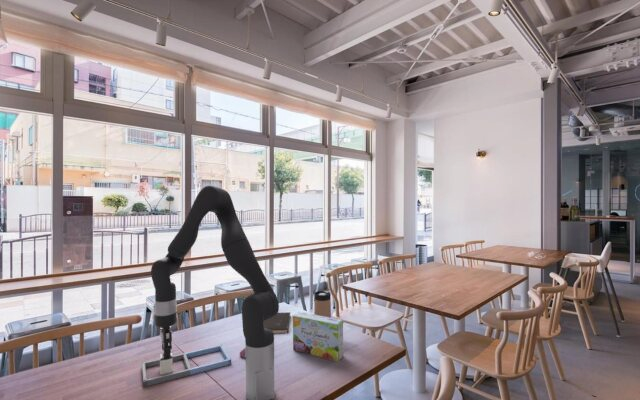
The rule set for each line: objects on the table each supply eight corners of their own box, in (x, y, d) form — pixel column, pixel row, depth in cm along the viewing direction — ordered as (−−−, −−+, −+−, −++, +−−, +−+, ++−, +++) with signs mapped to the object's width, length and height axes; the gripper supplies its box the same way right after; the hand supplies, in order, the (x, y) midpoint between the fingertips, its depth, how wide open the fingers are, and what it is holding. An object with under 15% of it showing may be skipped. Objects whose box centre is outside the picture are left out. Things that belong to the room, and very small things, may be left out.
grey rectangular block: (172, 372, 124) (172, 355, 123) (160, 375, 122) (160, 358, 122) (171, 367, 127) (171, 351, 127) (159, 370, 125) (159, 354, 125)
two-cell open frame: (231, 364, 129) (231, 359, 129) (143, 386, 114) (143, 381, 114) (221, 348, 142) (221, 344, 142) (142, 367, 127) (141, 362, 127)
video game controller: (247, 361, 134) (254, 347, 133) (237, 355, 134) (245, 341, 134) (256, 350, 143) (263, 336, 143) (247, 345, 144) (254, 331, 143)
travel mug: (316, 341, 149) (316, 296, 148) (312, 334, 156) (312, 291, 156) (333, 338, 151) (332, 294, 150) (328, 332, 158) (327, 290, 158)
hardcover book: (290, 316, 181) (290, 312, 181) (287, 334, 158) (287, 329, 158) (260, 317, 180) (260, 312, 180) (253, 334, 157) (253, 330, 157)
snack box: (292, 351, 140) (291, 315, 139) (299, 345, 144) (298, 310, 144) (338, 362, 130) (338, 323, 129) (344, 356, 135) (343, 318, 134)
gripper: (179, 315, 120) (179, 360, 120) (174, 304, 132) (175, 344, 133) (155, 319, 116) (156, 365, 117) (153, 307, 129) (154, 348, 129)
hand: (166, 354), depth 125 cm, fingers open, 8 cm apart
